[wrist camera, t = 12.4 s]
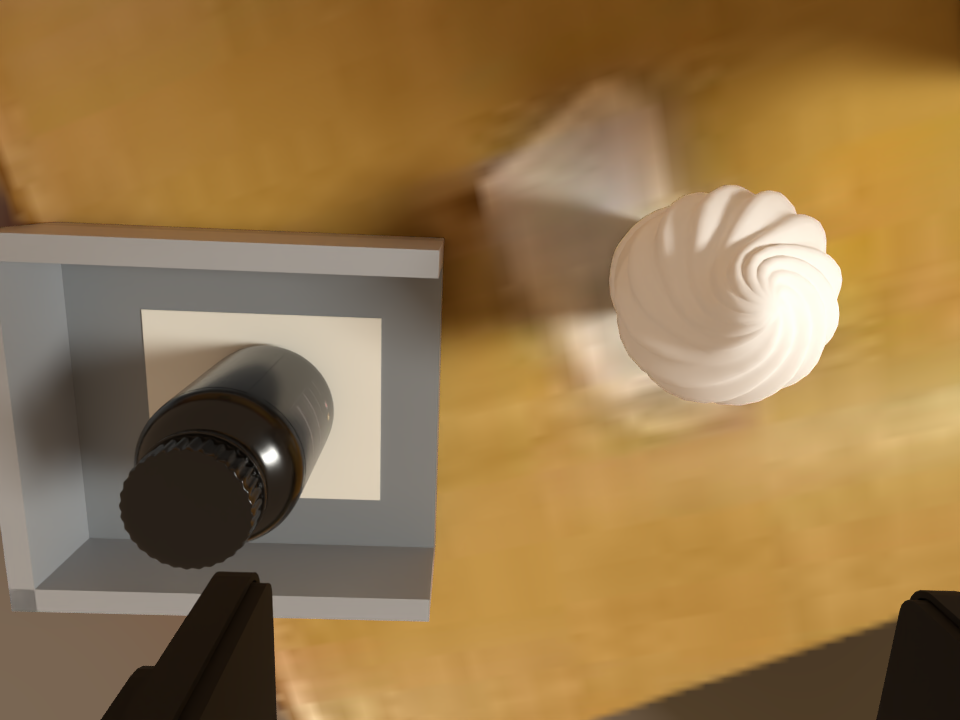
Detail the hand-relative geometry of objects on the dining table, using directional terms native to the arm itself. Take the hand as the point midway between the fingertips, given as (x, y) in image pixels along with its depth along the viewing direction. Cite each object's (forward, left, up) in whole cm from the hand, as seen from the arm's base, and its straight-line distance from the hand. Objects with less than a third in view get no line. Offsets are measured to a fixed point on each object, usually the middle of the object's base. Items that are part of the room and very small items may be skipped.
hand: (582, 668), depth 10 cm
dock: (+13, +5, -28) cm, 32 cm away
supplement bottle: (+12, +5, -26) cm, 29 cm away
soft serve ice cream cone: (-8, -3, -28) cm, 30 cm away
